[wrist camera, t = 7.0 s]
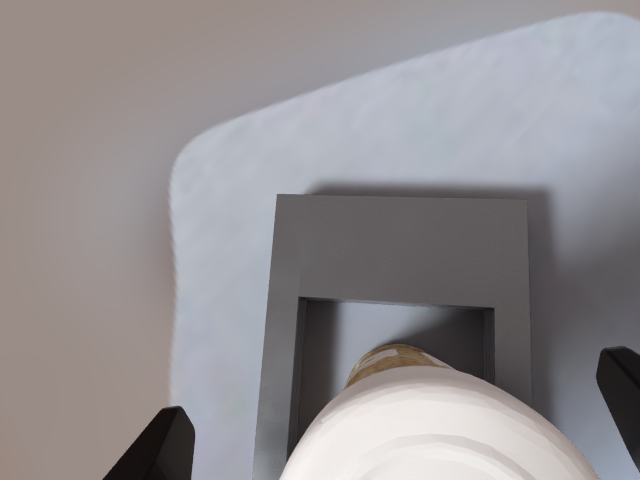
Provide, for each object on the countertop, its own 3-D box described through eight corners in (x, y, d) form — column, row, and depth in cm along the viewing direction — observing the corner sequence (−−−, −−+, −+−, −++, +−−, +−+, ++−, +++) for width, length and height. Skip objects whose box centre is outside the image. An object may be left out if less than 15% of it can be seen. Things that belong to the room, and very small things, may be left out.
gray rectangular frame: (520, 639, 16) (539, 681, 14) (255, 595, 17) (238, 627, 16) (512, 212, 19) (527, 199, 17) (287, 206, 21) (277, 193, 19)
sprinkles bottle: (339, 348, 19) (244, 391, 6) (448, 338, 18) (607, 361, 5) (351, 463, 18) (266, 819, 5) (465, 456, 17) (712, 836, 4)
